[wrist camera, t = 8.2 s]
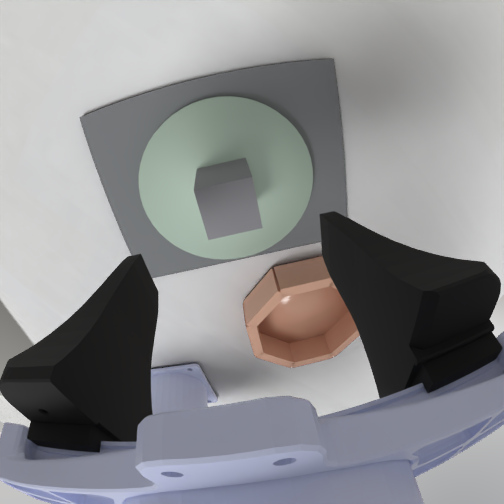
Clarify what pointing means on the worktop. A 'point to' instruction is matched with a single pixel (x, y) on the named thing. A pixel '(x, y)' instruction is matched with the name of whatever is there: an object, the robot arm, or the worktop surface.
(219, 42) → the worktop surface
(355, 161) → the worktop surface
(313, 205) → the mat
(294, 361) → the bowl
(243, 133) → the lid
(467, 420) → the robot arm
